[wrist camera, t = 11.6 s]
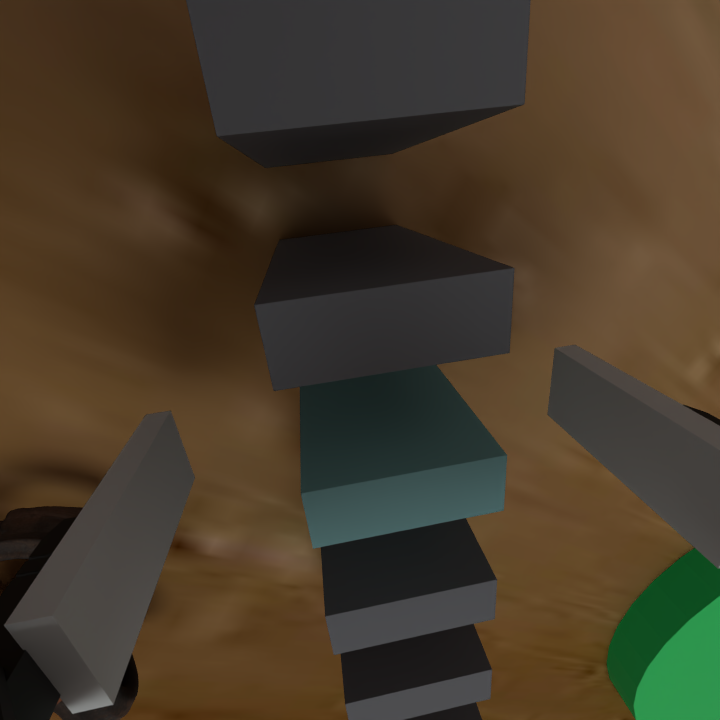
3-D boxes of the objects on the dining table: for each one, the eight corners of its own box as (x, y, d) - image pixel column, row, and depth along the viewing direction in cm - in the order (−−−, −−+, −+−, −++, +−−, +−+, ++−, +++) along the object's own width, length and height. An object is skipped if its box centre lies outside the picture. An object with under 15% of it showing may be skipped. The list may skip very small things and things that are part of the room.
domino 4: (325, 489, 22) (345, 704, 13) (412, 473, 22) (491, 669, 13) (330, 513, 22) (351, 732, 13) (414, 497, 23) (490, 698, 14)
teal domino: (299, 340, 18) (301, 493, 9) (404, 324, 18) (506, 455, 9) (305, 375, 19) (313, 548, 10) (406, 358, 19) (503, 510, 10)
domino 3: (312, 421, 20) (325, 616, 11) (408, 405, 20) (496, 579, 11) (318, 450, 21) (334, 655, 12) (410, 434, 21) (494, 619, 12)
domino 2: (279, 240, 16) (254, 304, 7) (396, 224, 17) (514, 268, 8) (287, 282, 17) (273, 391, 8) (399, 267, 17) (509, 352, 8)
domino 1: (255, 113, 14) (182, -16, 5) (388, 100, 15) (532, -42, 6) (265, 168, 15) (217, 135, 6) (391, 153, 16) (524, 103, 6)
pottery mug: (-89, 563, 20) (-259, 672, 12) (89, 438, 23) (40, 465, 16) (79, 709, 22) (22, 876, 15) (219, 577, 26) (231, 658, 18)
